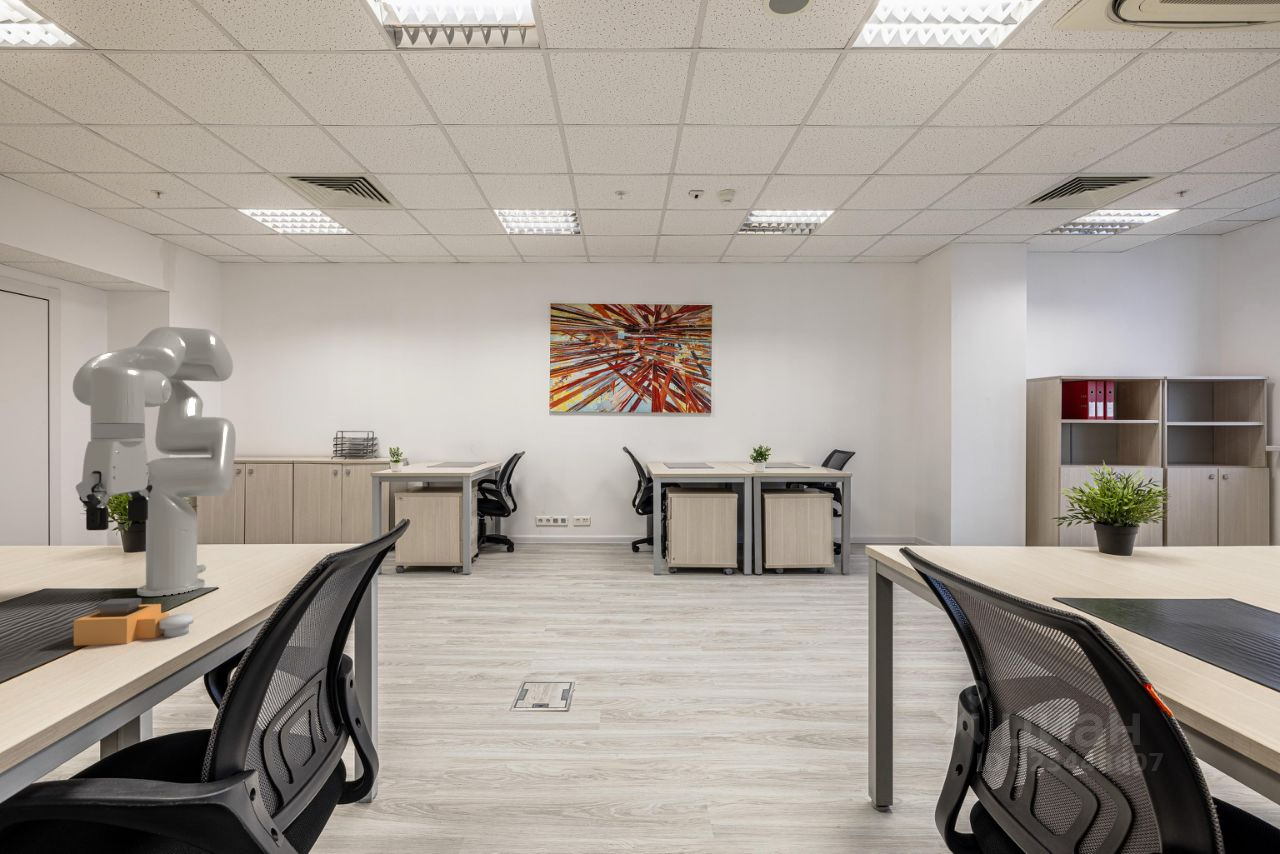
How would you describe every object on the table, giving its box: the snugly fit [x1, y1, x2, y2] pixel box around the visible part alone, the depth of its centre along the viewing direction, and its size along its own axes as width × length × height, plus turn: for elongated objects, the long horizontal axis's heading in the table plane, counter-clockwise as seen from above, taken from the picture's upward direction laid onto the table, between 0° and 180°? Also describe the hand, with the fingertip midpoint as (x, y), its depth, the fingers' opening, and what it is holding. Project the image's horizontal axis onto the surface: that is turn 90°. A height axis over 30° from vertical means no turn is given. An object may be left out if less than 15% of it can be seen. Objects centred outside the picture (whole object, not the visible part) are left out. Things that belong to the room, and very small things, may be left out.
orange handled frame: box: [73, 603, 195, 647], centre depth 108 cm, size 17×9×4 cm, turn 97°
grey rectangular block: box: [96, 597, 142, 617], centre depth 107 cm, size 3×5×6 cm, turn 98°
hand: (118, 525), depth 108 cm, fingers open, 9 cm apart
